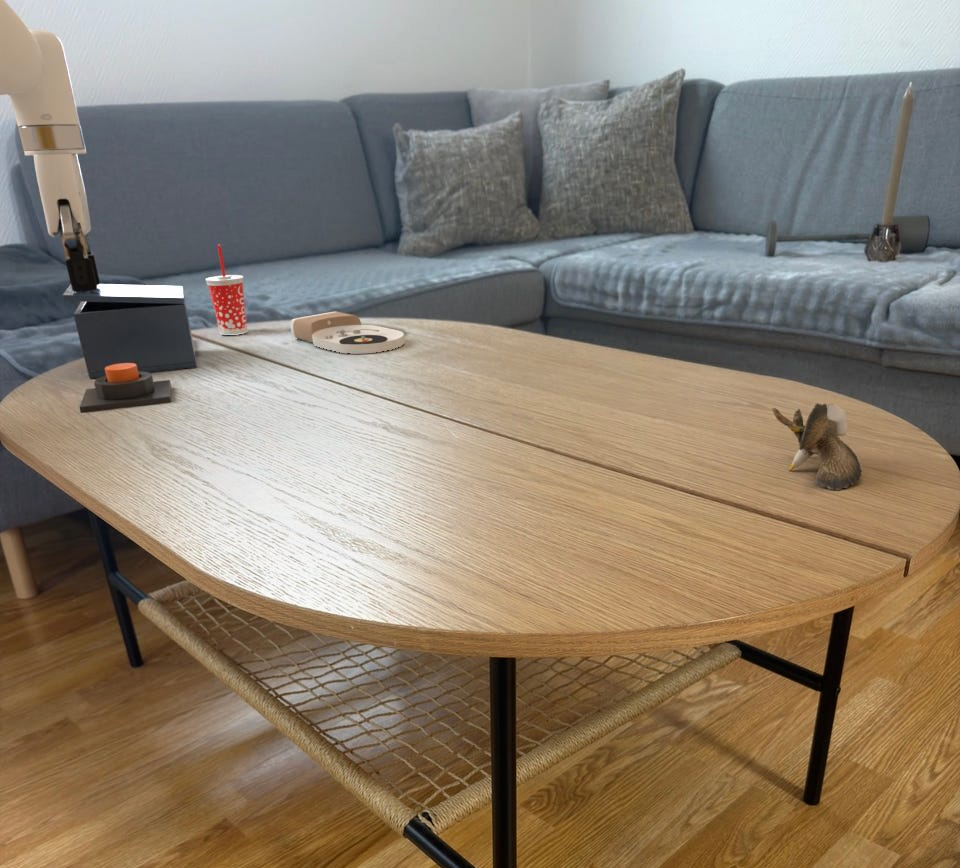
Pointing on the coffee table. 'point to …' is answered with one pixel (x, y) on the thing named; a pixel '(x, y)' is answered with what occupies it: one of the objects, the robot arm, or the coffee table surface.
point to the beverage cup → (228, 301)
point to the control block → (125, 393)
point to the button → (121, 372)
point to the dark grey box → (135, 336)
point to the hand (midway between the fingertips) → (86, 286)
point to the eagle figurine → (824, 445)
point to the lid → (128, 294)
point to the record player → (345, 333)
